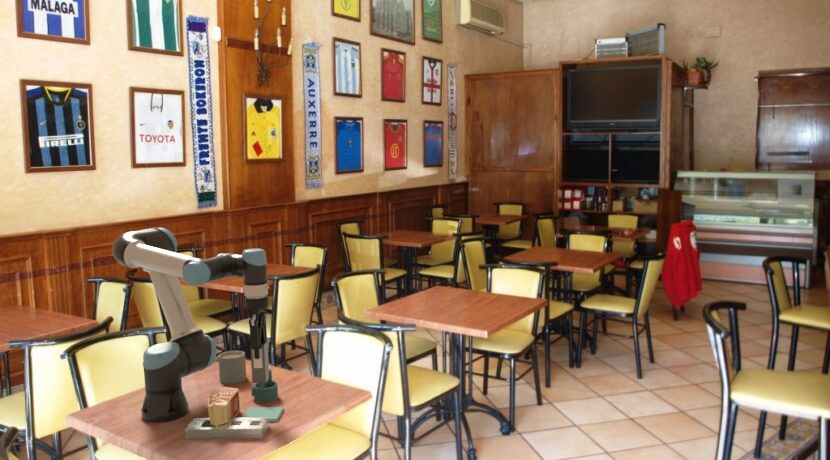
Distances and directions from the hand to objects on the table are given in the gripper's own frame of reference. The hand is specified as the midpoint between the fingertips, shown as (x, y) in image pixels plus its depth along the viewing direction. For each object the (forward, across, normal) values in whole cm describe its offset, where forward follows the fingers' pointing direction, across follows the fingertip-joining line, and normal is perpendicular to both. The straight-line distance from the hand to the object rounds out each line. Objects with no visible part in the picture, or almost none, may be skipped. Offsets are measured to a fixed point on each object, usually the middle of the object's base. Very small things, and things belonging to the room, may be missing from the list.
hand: (260, 365), depth 230 cm
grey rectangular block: (+5, 0, 0) cm, 5 cm away
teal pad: (+18, 0, 0) cm, 18 cm away
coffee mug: (+18, +38, +20) cm, 47 cm away
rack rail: (+18, -13, +8) cm, 23 cm away
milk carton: (+13, +4, +14) cm, 19 cm away
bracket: (+18, +16, +3) cm, 24 cm away
